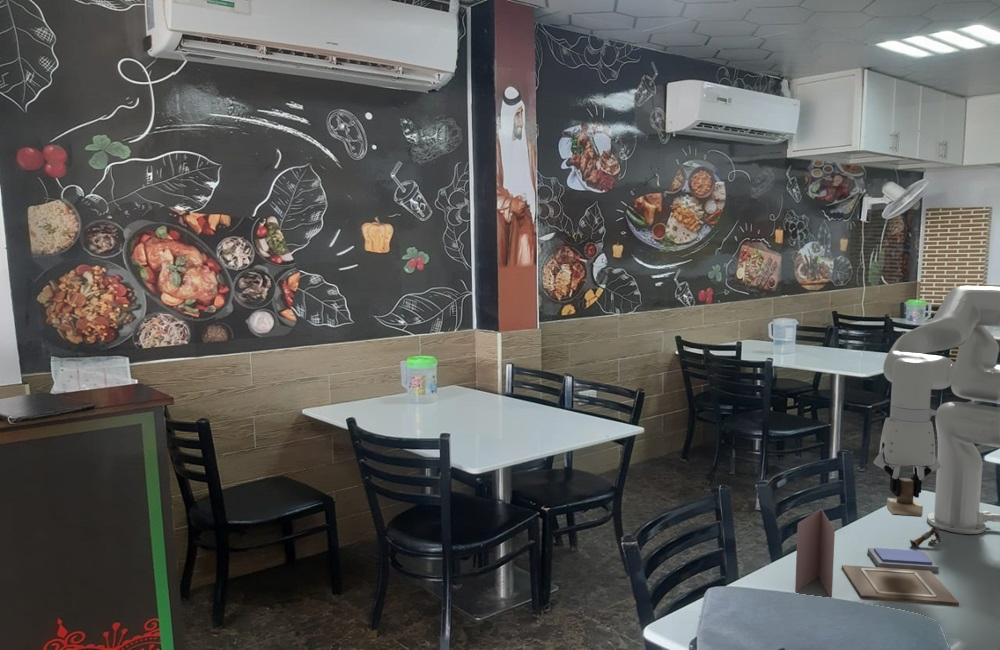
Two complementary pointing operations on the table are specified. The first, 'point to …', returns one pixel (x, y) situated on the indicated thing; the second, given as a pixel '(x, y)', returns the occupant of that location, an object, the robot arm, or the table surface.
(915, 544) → the wooden post with brackets
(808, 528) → the greeting card
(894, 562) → the ink pad
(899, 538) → the table surface
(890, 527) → the table surface
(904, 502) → the stamp
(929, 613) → the table surface
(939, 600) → the marked board
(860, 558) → the table surface
